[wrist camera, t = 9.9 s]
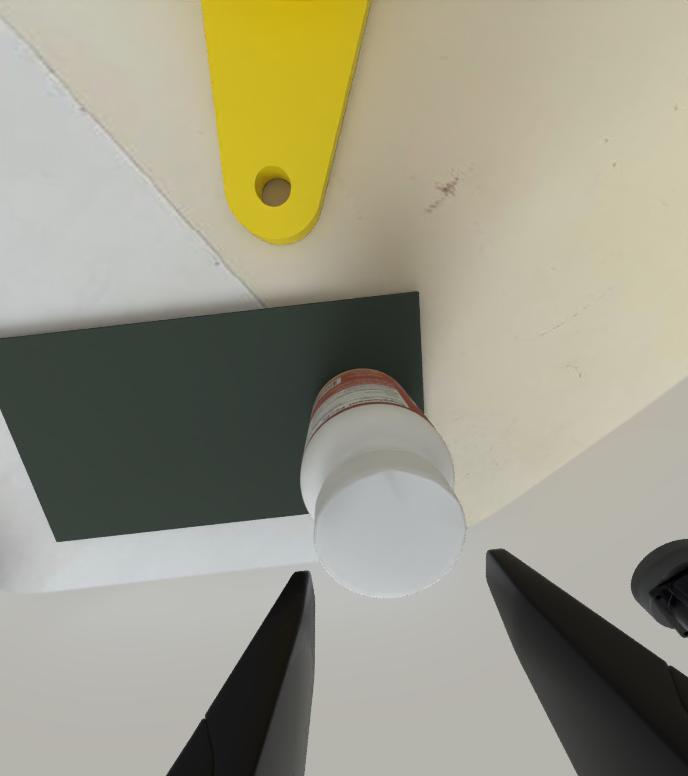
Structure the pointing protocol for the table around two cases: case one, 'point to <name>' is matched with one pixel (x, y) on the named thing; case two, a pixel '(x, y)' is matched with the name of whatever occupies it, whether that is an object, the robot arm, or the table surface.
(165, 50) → the table surface
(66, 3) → the table surface
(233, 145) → the crank
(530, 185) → the table surface
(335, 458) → the pill bottle
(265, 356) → the mat
